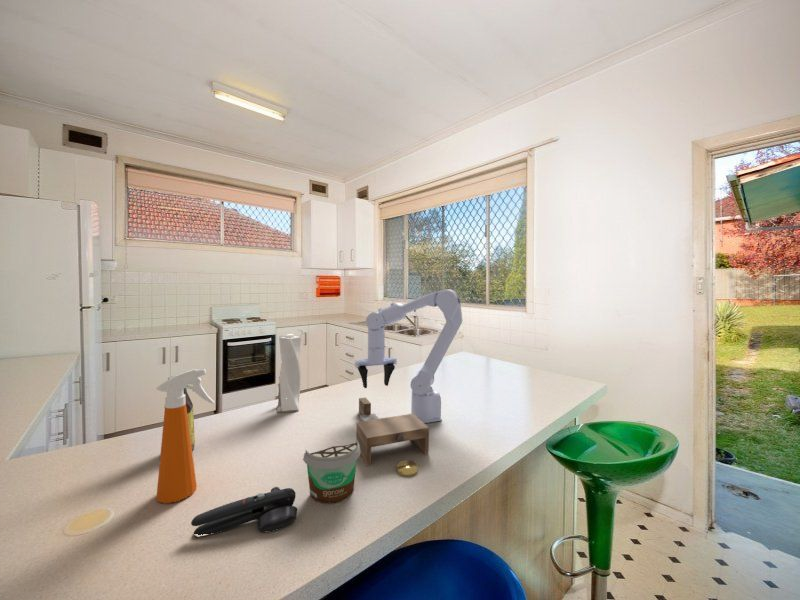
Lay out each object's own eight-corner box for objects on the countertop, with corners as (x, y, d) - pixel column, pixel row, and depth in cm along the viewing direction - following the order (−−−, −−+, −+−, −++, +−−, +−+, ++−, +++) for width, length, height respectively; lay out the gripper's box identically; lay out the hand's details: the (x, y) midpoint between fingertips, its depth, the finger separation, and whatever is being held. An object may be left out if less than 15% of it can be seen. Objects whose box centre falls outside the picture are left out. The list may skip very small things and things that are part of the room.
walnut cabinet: (412, 437, 98) (413, 413, 97) (429, 454, 88) (430, 428, 87) (356, 447, 91) (356, 422, 91) (367, 467, 81) (368, 439, 81)
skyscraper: (302, 403, 123) (302, 328, 122) (303, 411, 115) (303, 331, 114) (277, 405, 120) (277, 328, 119) (277, 414, 113) (276, 332, 111)
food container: (309, 515, 64) (309, 464, 64) (302, 496, 70) (302, 450, 69) (368, 497, 70) (369, 450, 70) (358, 481, 76) (358, 438, 75)
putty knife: (369, 411, 117) (369, 397, 117) (392, 439, 96) (392, 422, 96) (355, 412, 115) (355, 398, 115) (375, 442, 95) (376, 424, 94)
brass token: (410, 462, 84) (410, 458, 84) (421, 473, 80) (421, 468, 80) (392, 468, 81) (392, 464, 81) (403, 479, 77) (403, 475, 77)
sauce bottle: (200, 448, 89) (199, 375, 88) (178, 459, 83) (176, 381, 82) (182, 444, 91) (181, 372, 90) (159, 455, 86) (157, 378, 84)
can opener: (296, 504, 68) (296, 477, 68) (297, 528, 61) (297, 499, 61) (197, 523, 62) (196, 493, 62) (186, 551, 56) (185, 519, 55)
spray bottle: (211, 497, 69) (209, 372, 68) (150, 507, 66) (147, 375, 65) (219, 478, 76) (217, 363, 74) (164, 486, 73) (161, 366, 71)
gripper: (391, 343, 121) (391, 380, 121) (352, 346, 115) (352, 384, 116) (399, 347, 114) (398, 386, 115) (358, 350, 109) (357, 391, 109)
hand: (375, 386), depth 115 cm, fingers open, 7 cm apart
